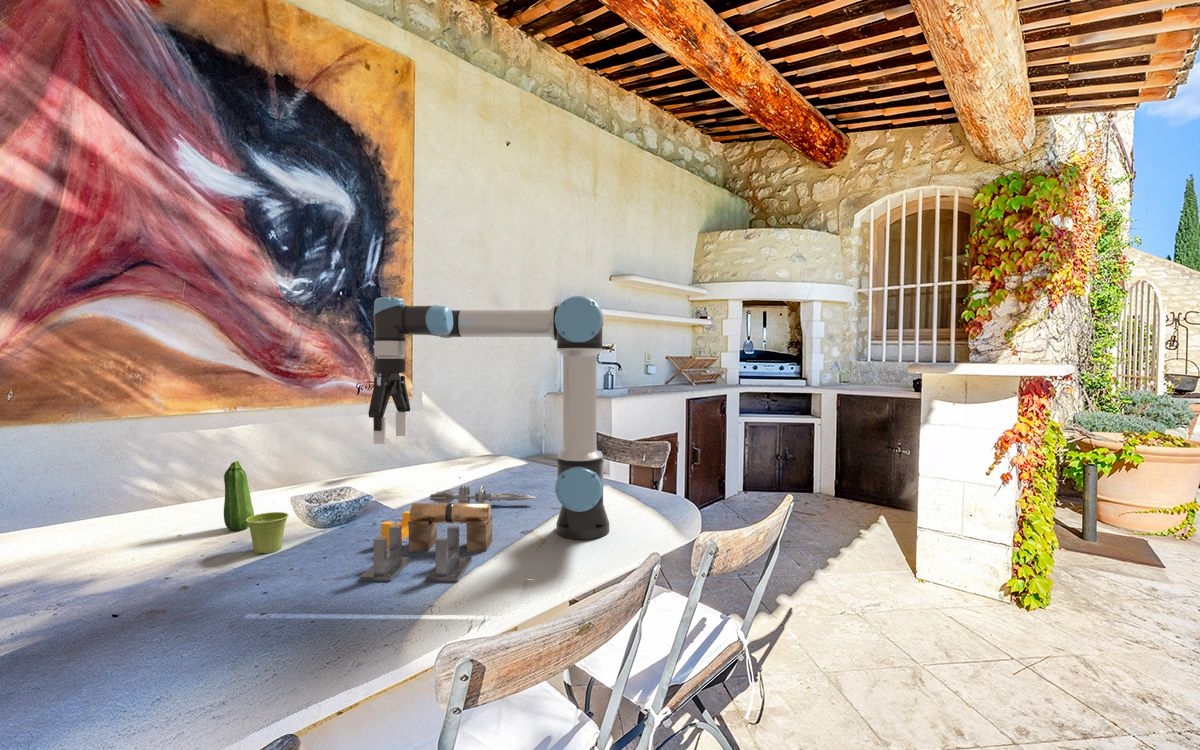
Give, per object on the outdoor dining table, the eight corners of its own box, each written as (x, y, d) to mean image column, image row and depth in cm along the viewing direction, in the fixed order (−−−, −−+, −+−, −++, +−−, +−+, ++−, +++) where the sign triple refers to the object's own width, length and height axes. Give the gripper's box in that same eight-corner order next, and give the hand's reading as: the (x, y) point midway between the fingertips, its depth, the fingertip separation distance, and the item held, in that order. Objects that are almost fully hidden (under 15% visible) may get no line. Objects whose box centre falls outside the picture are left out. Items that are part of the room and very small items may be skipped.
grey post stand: (471, 561, 130) (471, 524, 130) (457, 581, 118) (457, 541, 118) (382, 560, 130) (382, 524, 130) (359, 581, 118) (358, 541, 118)
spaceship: (534, 512, 172) (534, 488, 172) (426, 512, 172) (425, 488, 172) (537, 505, 180) (537, 482, 180) (433, 505, 180) (433, 482, 180)
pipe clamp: (401, 533, 152) (400, 510, 152) (414, 534, 151) (414, 511, 151) (375, 547, 140) (375, 523, 140) (390, 548, 139) (389, 524, 139)
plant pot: (279, 541, 145) (278, 509, 144) (295, 548, 139) (295, 515, 139) (240, 551, 137) (239, 518, 137) (256, 559, 132) (255, 524, 131)
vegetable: (241, 534, 151) (240, 463, 150) (217, 533, 151) (215, 463, 151) (259, 526, 158) (258, 459, 157) (236, 525, 158) (235, 458, 158)
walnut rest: (492, 542, 144) (492, 513, 144) (485, 552, 136) (485, 522, 136) (419, 541, 144) (418, 513, 144) (408, 551, 137) (408, 522, 136)
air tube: (491, 519, 142) (491, 501, 142) (486, 525, 137) (486, 506, 137) (417, 519, 143) (416, 500, 143) (409, 525, 138) (409, 505, 138)
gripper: (395, 358, 150) (396, 433, 151) (352, 357, 125) (353, 447, 126) (421, 358, 150) (422, 433, 151) (383, 357, 125) (385, 447, 126)
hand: (391, 439), depth 138 cm, fingers open, 13 cm apart
